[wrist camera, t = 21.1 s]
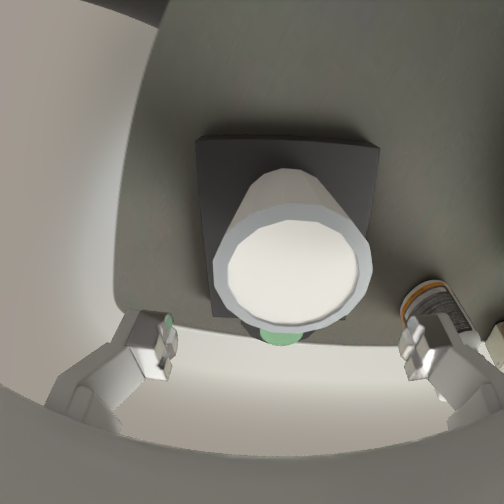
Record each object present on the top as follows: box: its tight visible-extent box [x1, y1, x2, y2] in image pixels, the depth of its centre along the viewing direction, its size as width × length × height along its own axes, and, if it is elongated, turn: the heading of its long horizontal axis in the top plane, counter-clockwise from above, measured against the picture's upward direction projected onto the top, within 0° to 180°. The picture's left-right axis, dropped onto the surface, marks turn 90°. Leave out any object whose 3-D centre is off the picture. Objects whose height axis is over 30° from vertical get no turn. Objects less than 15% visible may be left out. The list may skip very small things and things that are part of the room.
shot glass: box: [213, 168, 373, 334], centre depth 15 cm, size 7×7×7 cm
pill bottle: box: [400, 280, 485, 401], centre depth 19 cm, size 6×6×10 cm
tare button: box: [260, 328, 303, 346], centre depth 20 cm, size 3×3×2 cm
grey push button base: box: [195, 135, 380, 343], centre depth 19 cm, size 15×11×4 cm
